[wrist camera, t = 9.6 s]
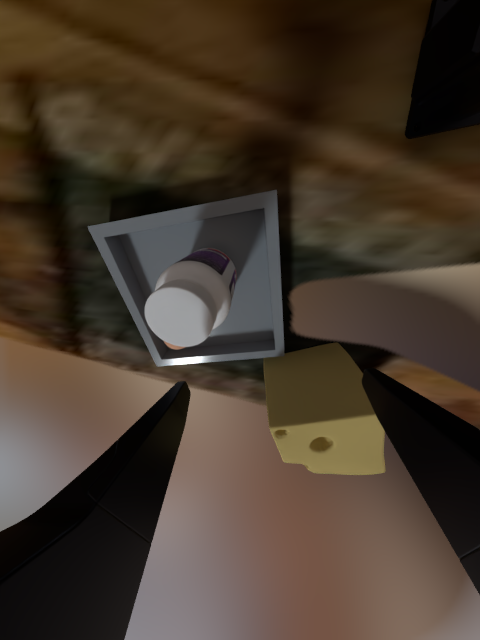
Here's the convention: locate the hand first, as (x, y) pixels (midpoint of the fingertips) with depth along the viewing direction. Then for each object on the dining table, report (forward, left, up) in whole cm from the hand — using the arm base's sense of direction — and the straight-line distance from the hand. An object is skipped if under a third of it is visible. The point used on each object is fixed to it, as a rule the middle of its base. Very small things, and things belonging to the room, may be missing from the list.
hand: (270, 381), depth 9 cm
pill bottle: (+5, -3, -12) cm, 13 cm away
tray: (+6, -1, -12) cm, 14 cm away
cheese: (-5, +13, -13) cm, 19 cm away
